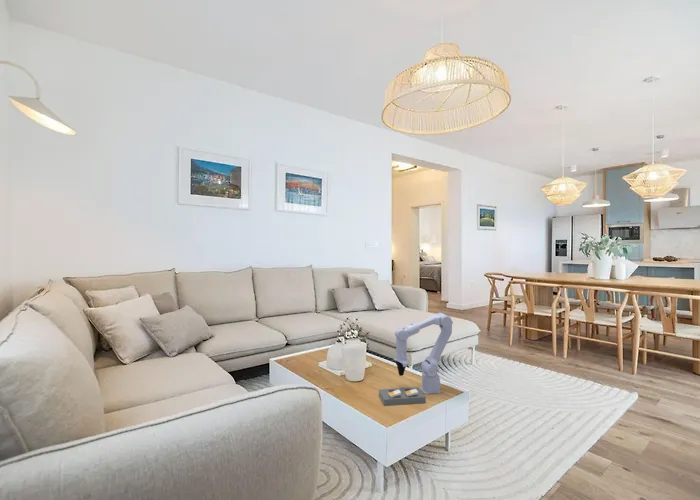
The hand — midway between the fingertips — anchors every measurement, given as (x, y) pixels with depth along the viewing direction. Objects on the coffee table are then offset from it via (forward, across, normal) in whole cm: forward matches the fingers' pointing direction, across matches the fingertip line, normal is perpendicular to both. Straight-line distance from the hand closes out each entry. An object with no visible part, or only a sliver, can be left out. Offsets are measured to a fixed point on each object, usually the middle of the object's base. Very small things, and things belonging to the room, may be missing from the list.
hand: (401, 375), depth 188 cm
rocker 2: (+6, +11, +2) cm, 13 cm away
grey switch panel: (+9, +8, -2) cm, 13 cm away
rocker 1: (+5, +11, -6) cm, 14 cm away
